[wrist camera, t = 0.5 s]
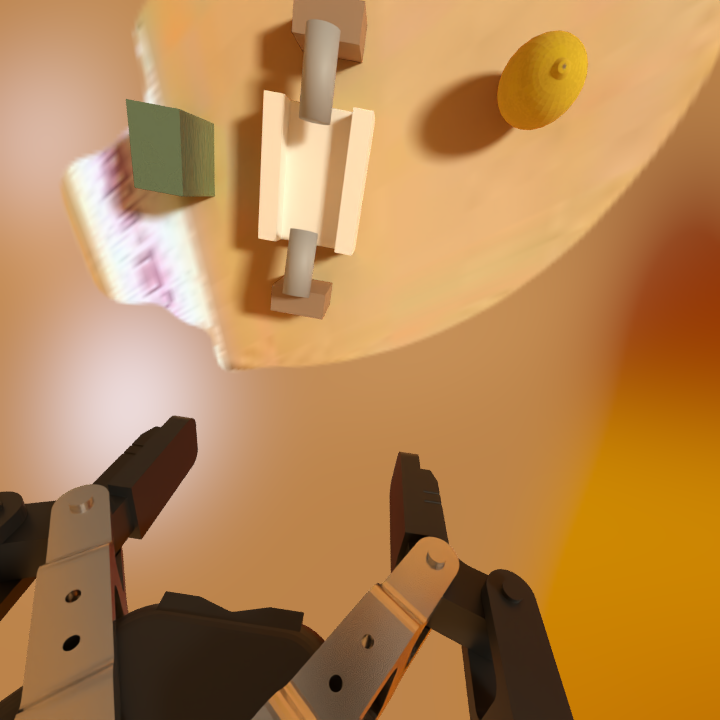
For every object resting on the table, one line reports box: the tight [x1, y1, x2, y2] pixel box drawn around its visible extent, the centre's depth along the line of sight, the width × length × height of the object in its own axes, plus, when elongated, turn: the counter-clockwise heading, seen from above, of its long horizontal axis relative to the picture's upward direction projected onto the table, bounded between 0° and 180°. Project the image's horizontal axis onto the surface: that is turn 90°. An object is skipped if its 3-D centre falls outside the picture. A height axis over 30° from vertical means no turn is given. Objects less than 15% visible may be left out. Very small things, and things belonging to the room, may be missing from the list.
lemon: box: [497, 31, 588, 130], centre depth 26 cm, size 6×6×8 cm
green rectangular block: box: [126, 99, 215, 196], centre depth 30 cm, size 6×4×6 cm, turn 170°
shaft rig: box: [258, 0, 375, 319], centre depth 30 cm, size 23×9×7 cm, turn 170°
